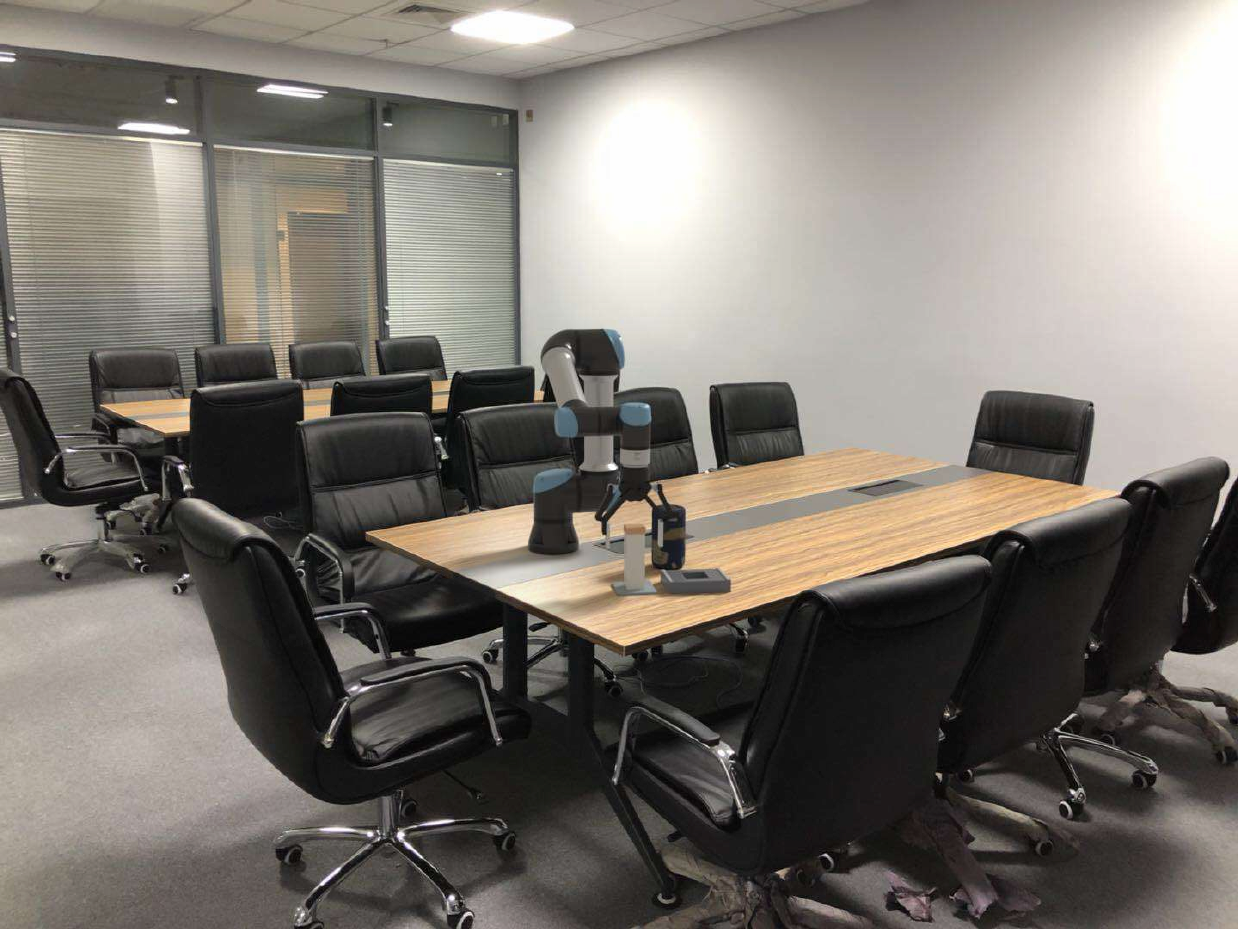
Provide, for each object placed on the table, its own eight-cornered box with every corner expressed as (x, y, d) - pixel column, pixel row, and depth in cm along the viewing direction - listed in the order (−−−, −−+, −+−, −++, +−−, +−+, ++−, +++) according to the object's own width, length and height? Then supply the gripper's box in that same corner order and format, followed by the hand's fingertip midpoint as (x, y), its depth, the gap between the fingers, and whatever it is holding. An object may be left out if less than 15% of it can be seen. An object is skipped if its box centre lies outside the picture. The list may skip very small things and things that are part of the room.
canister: (683, 561, 275) (684, 499, 272) (687, 570, 266) (688, 506, 263) (650, 561, 275) (650, 499, 272) (652, 571, 266) (652, 506, 262)
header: (669, 594, 245) (669, 581, 244) (660, 581, 255) (660, 569, 255) (730, 591, 247) (730, 579, 247) (719, 579, 258) (720, 567, 257)
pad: (617, 595, 243) (617, 593, 243) (612, 584, 253) (612, 582, 253) (657, 594, 245) (657, 591, 245) (649, 582, 255) (649, 580, 254)
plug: (626, 590, 246) (626, 528, 243) (623, 584, 251) (623, 524, 248) (645, 589, 247) (645, 527, 244) (641, 583, 251) (642, 523, 249)
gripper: (587, 468, 238) (587, 552, 242) (686, 466, 242) (684, 548, 246) (583, 463, 245) (583, 544, 249) (680, 461, 249) (678, 540, 253)
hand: (634, 546), depth 248 cm, fingers open, 13 cm apart
